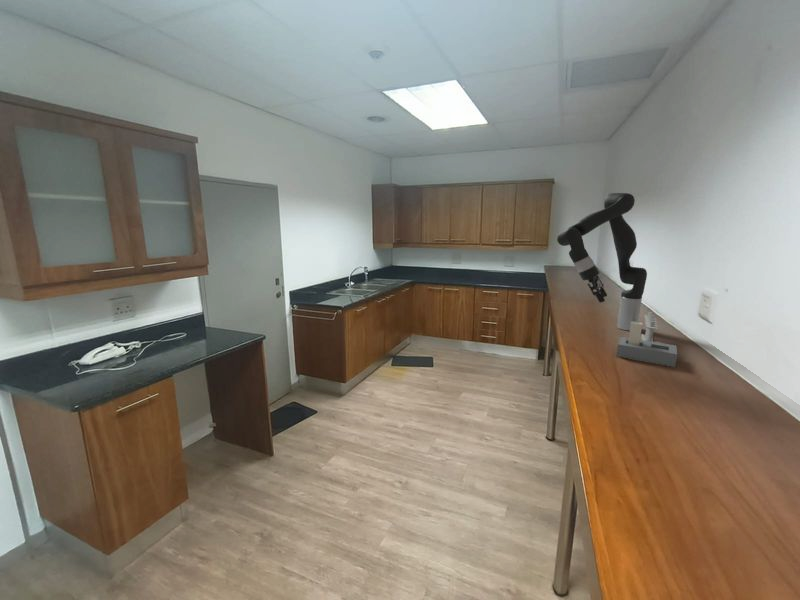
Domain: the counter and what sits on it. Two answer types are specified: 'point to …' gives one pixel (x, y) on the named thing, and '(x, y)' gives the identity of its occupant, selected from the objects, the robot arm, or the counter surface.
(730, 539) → the counter surface
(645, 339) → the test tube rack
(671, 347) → the grey two-slot holder
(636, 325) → the cream rectangular block
